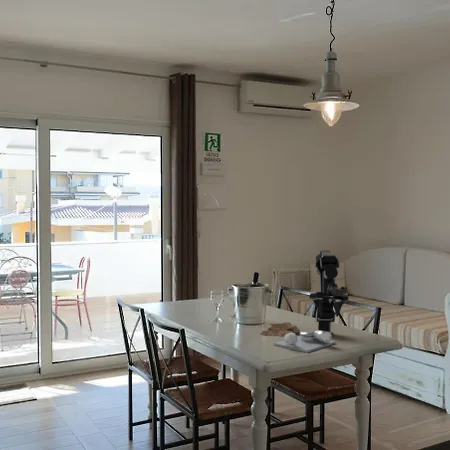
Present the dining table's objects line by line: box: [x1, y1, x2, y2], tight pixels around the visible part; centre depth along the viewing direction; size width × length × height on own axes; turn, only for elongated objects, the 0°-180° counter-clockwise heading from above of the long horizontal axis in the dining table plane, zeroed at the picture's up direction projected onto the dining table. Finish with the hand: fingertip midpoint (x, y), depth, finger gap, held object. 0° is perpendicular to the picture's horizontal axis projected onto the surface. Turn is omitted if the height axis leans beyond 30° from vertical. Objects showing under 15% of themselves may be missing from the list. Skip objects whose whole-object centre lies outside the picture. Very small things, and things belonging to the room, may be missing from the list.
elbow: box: [299, 329, 332, 343], centre depth 254 cm, size 15×8×5 cm, turn 47°
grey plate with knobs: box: [273, 332, 337, 354], centre depth 253 cm, size 23×18×6 cm
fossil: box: [259, 322, 301, 338], centre depth 276 cm, size 20×16×5 cm
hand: (329, 315), depth 253 cm, fingers open, 9 cm apart
